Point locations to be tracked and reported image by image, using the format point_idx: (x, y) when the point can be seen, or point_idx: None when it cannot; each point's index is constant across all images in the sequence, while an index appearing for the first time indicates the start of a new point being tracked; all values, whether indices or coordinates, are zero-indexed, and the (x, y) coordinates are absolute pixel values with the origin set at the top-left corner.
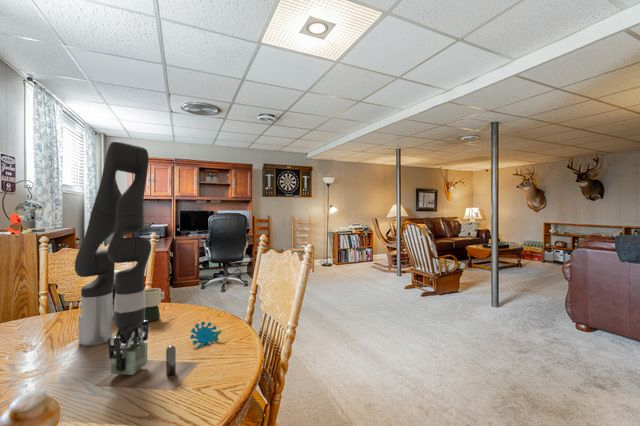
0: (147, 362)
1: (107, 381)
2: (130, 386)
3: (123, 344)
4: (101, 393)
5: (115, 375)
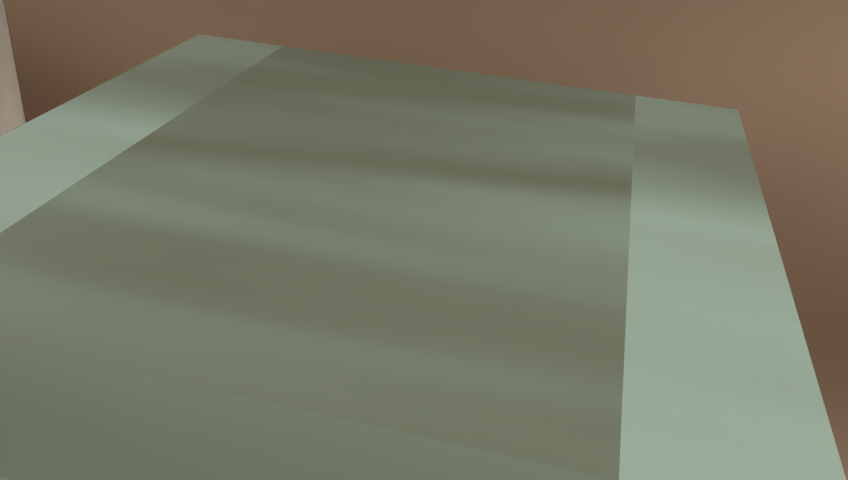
0: (828, 413)
1: (134, 24)
2: None
3: (511, 468)
4: (4, 42)
5: (335, 47)
